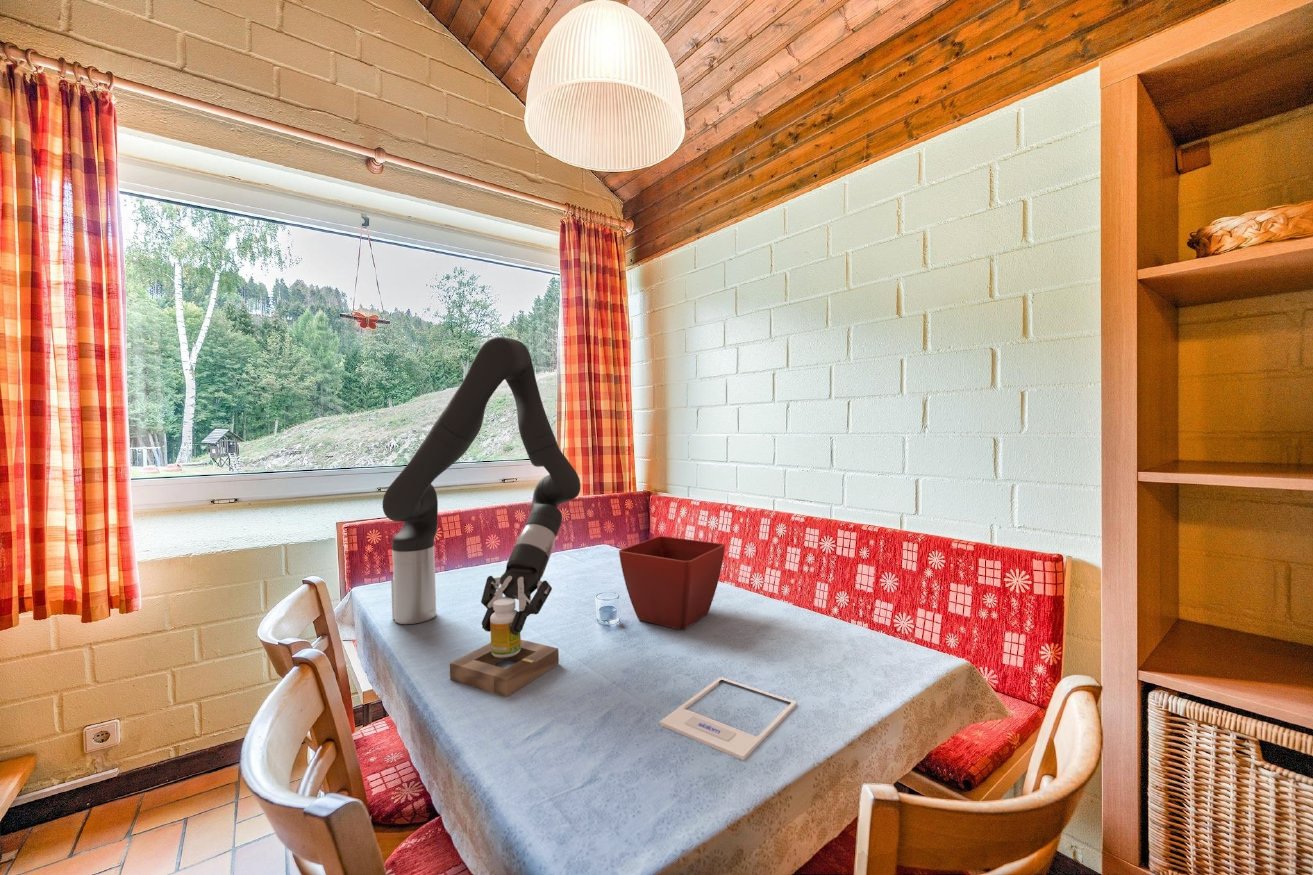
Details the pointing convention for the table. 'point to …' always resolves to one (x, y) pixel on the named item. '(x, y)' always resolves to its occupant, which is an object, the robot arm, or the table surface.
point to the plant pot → (672, 579)
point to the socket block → (499, 680)
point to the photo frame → (719, 726)
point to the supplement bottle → (504, 629)
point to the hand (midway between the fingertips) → (499, 631)
